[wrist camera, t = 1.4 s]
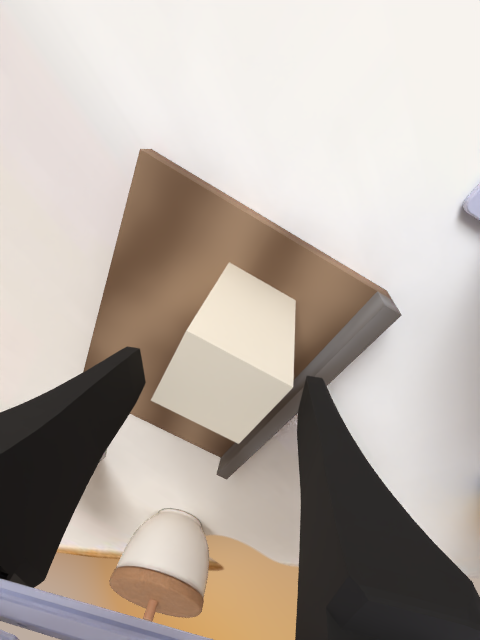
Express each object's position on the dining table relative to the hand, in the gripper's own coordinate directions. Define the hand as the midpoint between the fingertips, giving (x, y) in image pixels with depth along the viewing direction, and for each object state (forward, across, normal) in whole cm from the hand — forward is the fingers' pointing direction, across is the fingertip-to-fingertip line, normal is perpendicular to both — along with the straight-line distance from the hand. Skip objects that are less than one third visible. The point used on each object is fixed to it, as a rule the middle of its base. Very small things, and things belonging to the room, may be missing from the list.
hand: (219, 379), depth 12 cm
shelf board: (+7, +3, +4) cm, 9 cm away
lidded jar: (+8, +7, +34) cm, 36 cm away
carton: (+6, 0, 0) cm, 6 cm away
